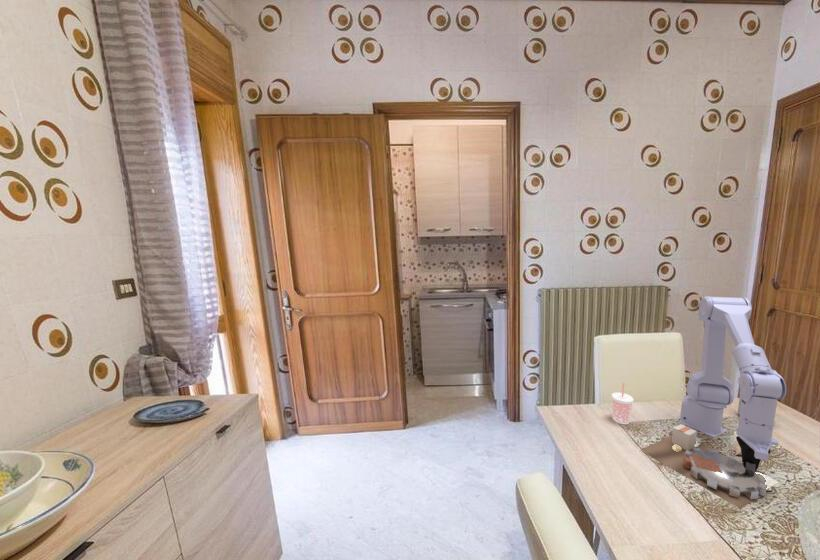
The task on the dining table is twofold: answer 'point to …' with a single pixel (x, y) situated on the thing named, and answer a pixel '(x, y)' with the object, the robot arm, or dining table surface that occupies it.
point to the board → (675, 461)
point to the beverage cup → (622, 407)
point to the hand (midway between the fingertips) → (749, 468)
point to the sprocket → (725, 473)
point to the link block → (684, 437)
